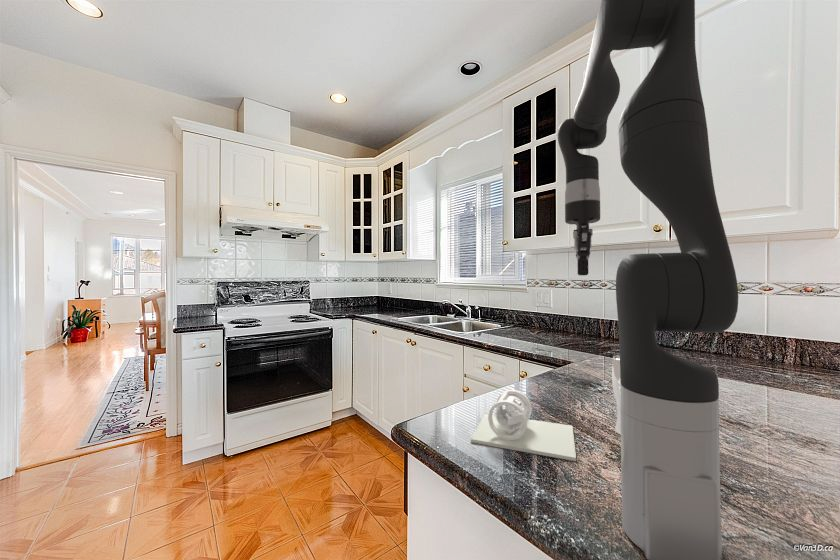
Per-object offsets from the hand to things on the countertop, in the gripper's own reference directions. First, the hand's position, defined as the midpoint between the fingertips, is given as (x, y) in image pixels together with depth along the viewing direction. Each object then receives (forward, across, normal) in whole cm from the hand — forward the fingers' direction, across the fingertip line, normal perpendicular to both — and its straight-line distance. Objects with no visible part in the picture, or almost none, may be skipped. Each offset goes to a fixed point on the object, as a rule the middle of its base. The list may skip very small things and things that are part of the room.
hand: (582, 275), depth 79 cm
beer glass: (+32, -9, -8) cm, 35 cm away
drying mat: (+32, -18, +12) cm, 39 cm away
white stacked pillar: (+28, -9, +14) cm, 32 cm away
